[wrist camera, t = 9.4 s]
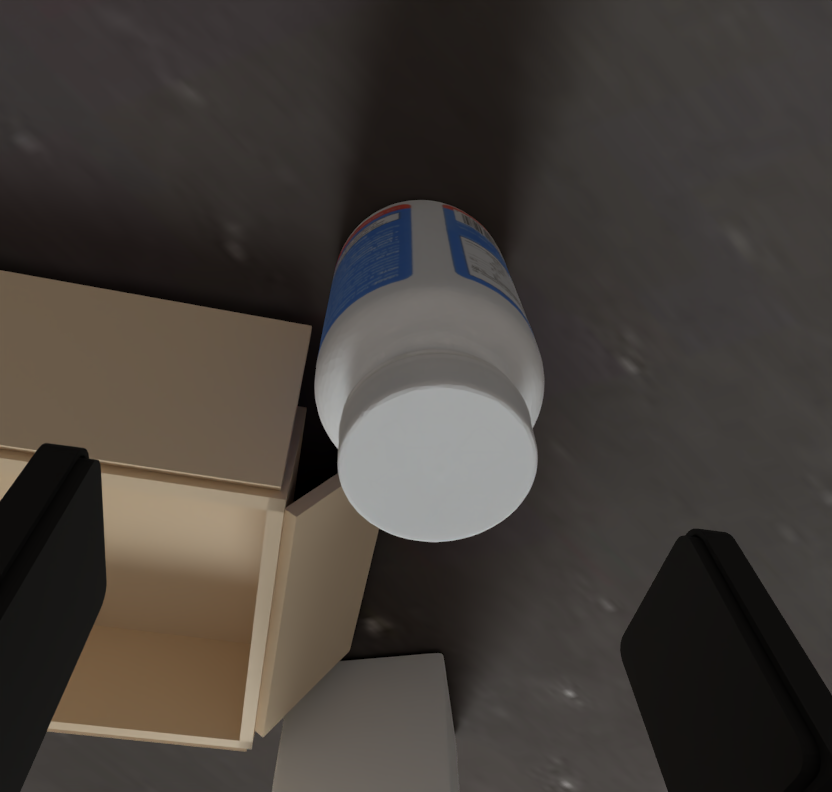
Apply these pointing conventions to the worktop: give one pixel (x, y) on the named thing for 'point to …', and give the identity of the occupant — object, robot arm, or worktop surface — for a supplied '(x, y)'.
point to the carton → (185, 508)
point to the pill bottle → (428, 375)
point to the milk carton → (372, 730)
